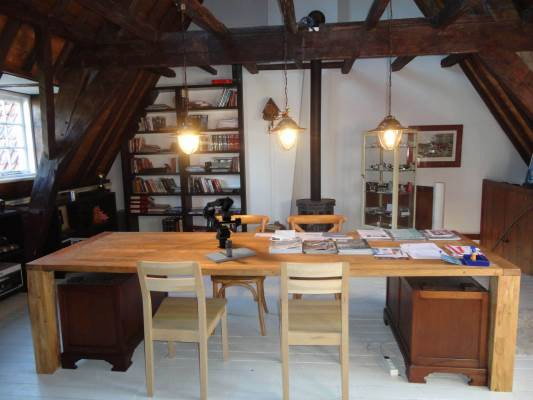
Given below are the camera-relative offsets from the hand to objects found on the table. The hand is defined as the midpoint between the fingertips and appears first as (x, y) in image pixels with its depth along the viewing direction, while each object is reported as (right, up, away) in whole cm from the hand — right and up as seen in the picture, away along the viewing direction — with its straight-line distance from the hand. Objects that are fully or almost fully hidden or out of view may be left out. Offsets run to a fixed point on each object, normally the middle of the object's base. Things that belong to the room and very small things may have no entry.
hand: (228, 233), depth 251 cm
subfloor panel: (+2, -14, -3) cm, 14 cm away
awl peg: (+2, -14, -10) cm, 17 cm away
